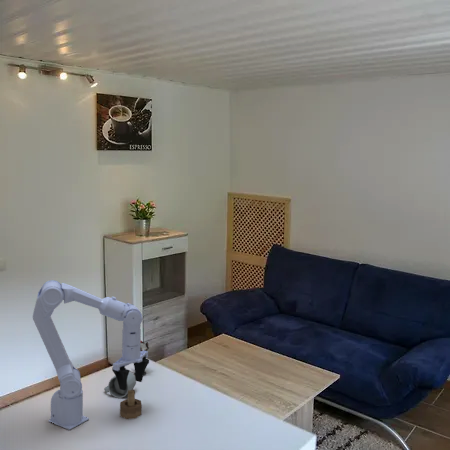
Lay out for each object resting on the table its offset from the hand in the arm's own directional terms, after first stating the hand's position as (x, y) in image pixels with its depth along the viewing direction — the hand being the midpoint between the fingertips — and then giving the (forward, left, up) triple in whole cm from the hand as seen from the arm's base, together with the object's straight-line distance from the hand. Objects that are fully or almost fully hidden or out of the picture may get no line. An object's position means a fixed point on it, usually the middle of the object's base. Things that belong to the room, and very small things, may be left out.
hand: (130, 385), depth 154 cm
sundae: (-19, +27, -10) cm, 34 cm away
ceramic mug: (-13, +9, -10) cm, 19 cm away
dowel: (0, 0, -9) cm, 9 cm away
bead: (0, 0, -9) cm, 9 cm away
